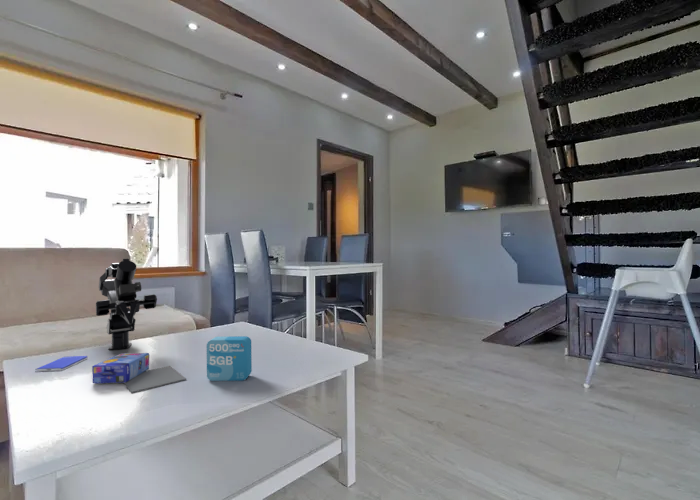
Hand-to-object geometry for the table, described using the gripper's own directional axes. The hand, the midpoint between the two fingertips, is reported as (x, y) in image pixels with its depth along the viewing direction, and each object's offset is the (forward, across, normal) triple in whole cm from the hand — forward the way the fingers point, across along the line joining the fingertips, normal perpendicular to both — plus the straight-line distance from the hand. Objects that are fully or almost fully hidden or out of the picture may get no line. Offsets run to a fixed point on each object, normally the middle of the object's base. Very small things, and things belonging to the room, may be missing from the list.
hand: (130, 323), depth 124 cm
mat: (+28, +2, -11) cm, 30 cm away
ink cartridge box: (+17, -1, -4) cm, 18 cm away
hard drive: (+4, -19, +14) cm, 24 cm away
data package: (+39, +19, -21) cm, 48 cm away
